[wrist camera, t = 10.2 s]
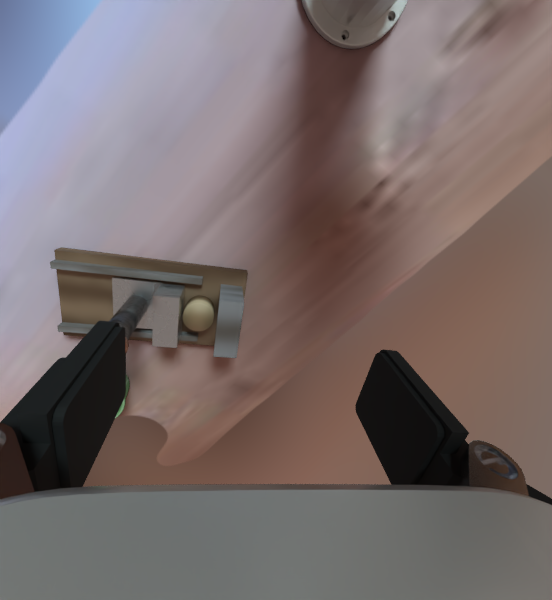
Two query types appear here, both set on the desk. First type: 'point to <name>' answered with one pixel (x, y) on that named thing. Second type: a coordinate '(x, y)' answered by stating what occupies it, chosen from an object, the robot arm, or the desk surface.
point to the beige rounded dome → (199, 313)
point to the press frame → (196, 278)
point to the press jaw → (149, 309)
